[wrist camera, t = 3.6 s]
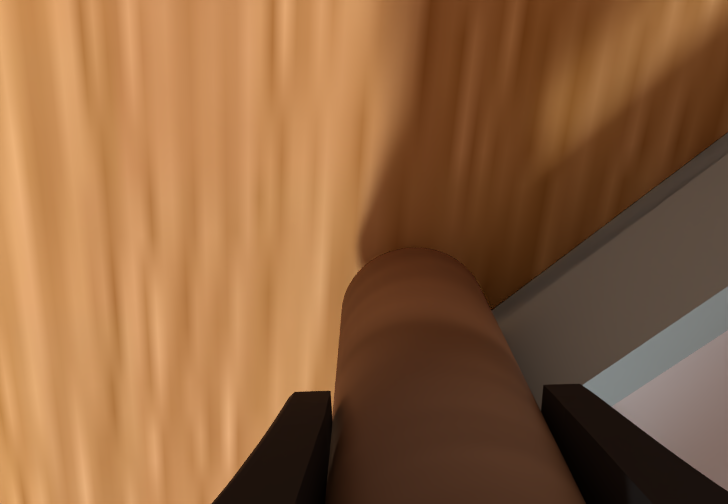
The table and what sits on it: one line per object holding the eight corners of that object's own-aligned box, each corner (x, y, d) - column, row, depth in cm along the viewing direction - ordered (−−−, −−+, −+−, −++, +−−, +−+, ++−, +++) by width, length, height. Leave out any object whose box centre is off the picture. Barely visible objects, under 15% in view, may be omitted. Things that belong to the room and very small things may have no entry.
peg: (405, 399, 15) (449, 767, 7) (312, 310, 14) (247, 624, 6) (513, 318, 14) (691, 638, 6) (421, 218, 13) (501, 451, 5)
